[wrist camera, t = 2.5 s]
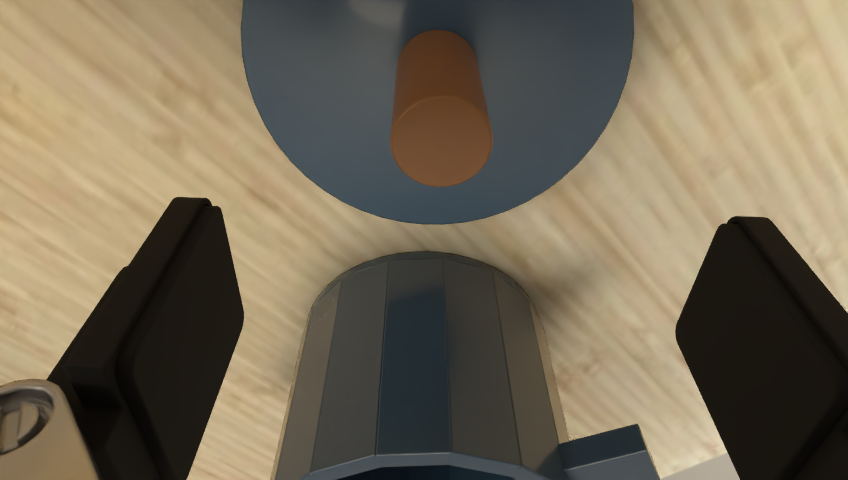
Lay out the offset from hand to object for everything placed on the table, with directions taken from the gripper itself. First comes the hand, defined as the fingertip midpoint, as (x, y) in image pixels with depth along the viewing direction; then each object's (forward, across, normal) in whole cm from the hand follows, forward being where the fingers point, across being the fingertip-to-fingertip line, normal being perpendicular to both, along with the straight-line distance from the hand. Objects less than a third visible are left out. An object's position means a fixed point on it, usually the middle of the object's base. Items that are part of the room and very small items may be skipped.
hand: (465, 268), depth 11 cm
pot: (+11, 0, +14) cm, 17 cm away
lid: (+10, 0, 0) cm, 10 cm away
